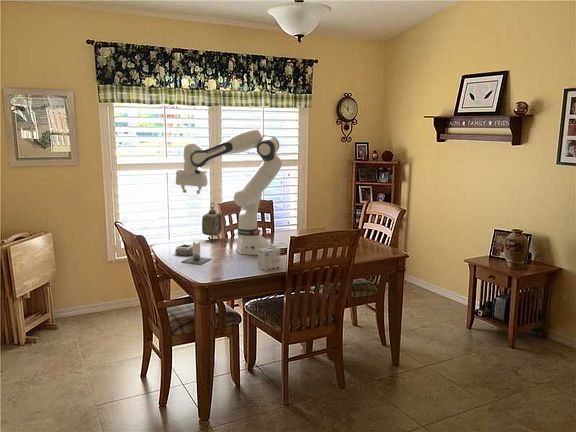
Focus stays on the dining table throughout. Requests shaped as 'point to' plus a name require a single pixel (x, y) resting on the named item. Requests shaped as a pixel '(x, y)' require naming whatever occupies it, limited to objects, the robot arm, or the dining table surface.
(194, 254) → the key rod
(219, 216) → the tabletop clock
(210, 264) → the dining table surface
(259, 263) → the light bulb box
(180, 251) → the chuck block
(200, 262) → the mat
